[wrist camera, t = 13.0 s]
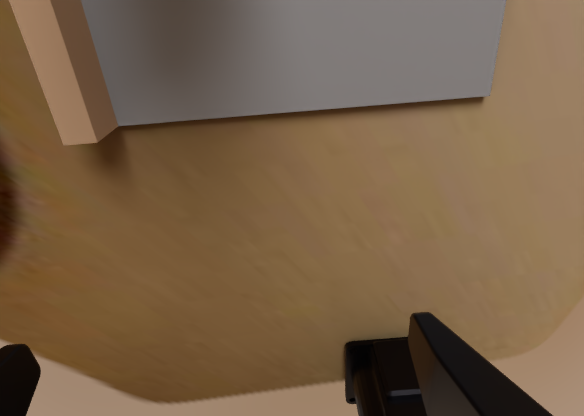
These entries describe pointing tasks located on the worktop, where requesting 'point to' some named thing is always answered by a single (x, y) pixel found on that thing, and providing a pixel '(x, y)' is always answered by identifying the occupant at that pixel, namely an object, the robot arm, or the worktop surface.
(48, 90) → the corner arena
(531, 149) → the worktop surface
